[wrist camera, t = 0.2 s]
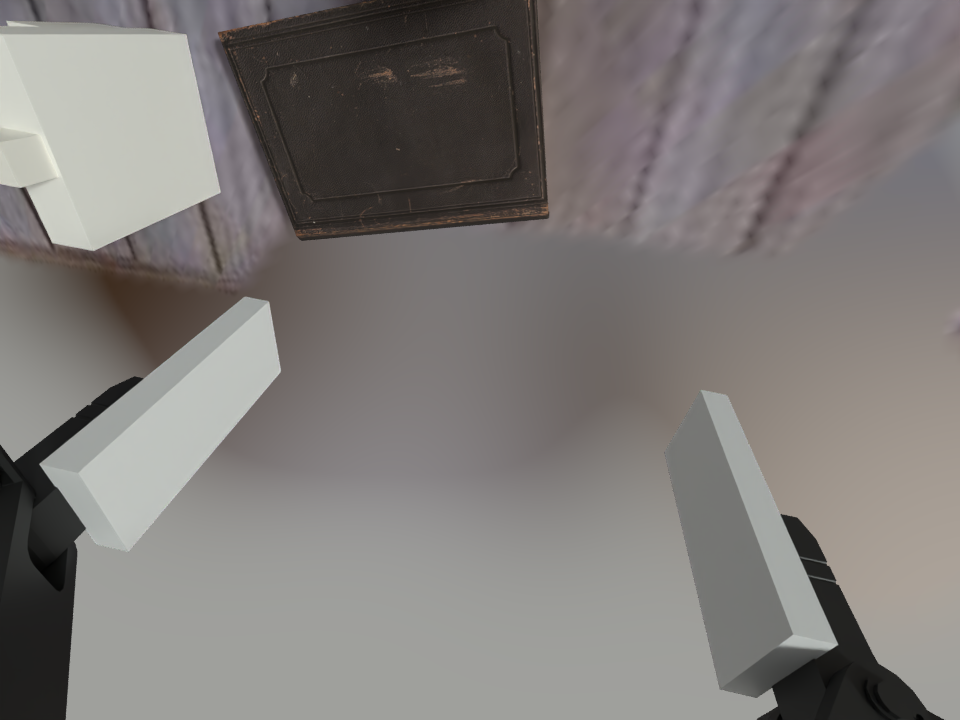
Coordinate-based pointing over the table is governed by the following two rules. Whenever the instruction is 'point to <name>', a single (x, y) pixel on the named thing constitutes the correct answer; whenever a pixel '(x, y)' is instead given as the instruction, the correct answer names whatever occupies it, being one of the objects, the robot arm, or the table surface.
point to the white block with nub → (101, 127)
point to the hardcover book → (398, 114)
